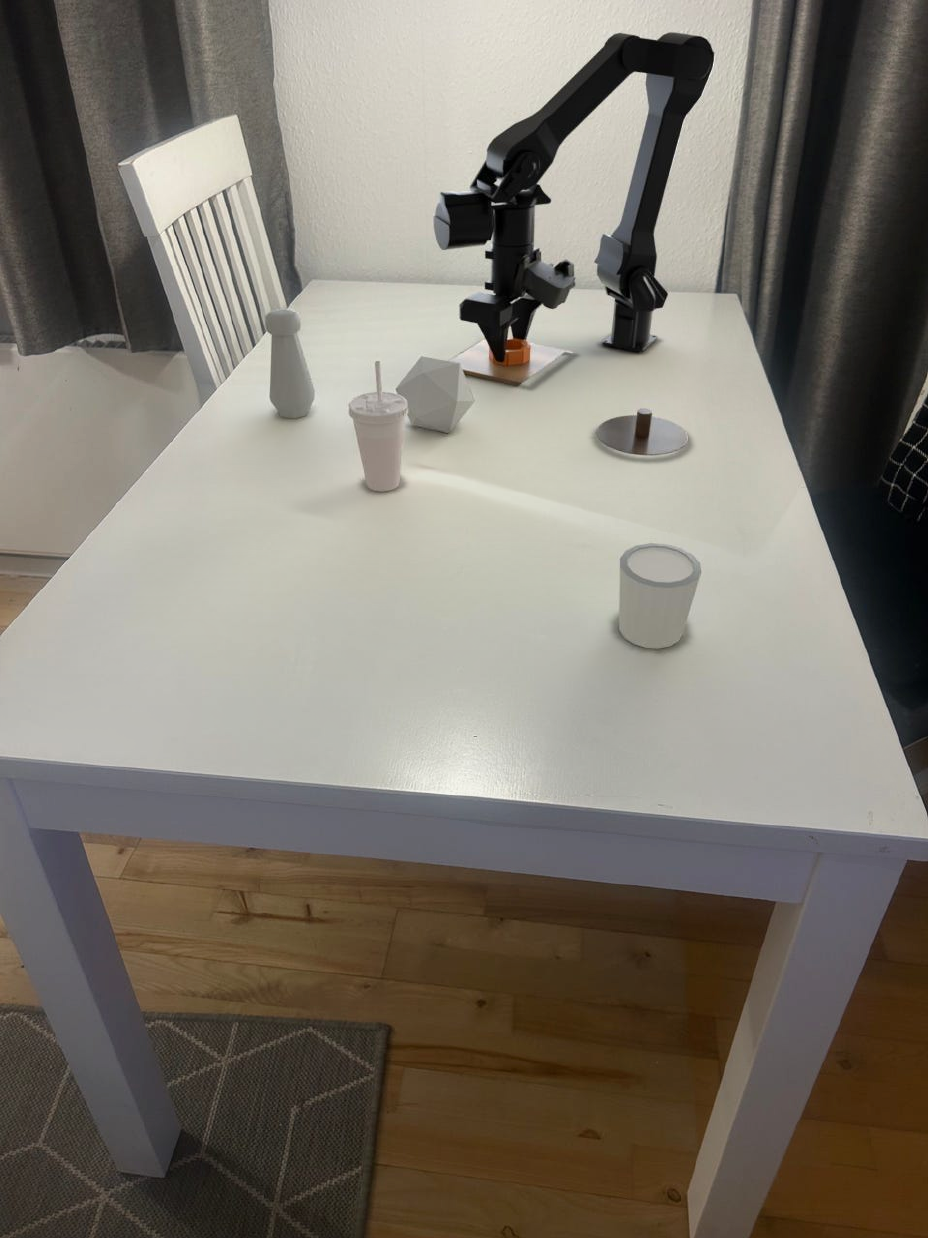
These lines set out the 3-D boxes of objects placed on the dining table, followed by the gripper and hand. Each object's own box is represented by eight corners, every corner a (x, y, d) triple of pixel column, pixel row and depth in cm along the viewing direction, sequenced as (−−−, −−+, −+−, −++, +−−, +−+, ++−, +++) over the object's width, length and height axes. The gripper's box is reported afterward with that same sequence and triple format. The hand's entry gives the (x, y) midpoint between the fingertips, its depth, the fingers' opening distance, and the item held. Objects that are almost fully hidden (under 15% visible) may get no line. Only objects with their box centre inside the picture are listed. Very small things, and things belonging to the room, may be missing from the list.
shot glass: (604, 608, 84) (611, 543, 80) (677, 604, 84) (688, 540, 80) (621, 655, 78) (629, 589, 74) (699, 651, 79) (712, 584, 75)
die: (485, 424, 117) (458, 349, 116) (476, 417, 108) (448, 336, 107) (423, 447, 118) (397, 373, 118) (410, 443, 110) (381, 363, 109)
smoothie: (419, 475, 105) (415, 356, 96) (398, 501, 100) (392, 379, 91) (368, 466, 106) (359, 349, 98) (345, 492, 101) (333, 371, 93)
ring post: (617, 414, 118) (620, 385, 115) (699, 432, 113) (704, 404, 111) (581, 447, 110) (583, 418, 108) (668, 469, 106) (672, 438, 103)
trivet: (490, 338, 139) (490, 334, 139) (574, 355, 134) (574, 351, 133) (442, 369, 130) (442, 364, 130) (529, 388, 124) (530, 384, 124)
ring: (501, 348, 135) (502, 335, 133) (535, 355, 132) (536, 341, 131) (482, 360, 131) (483, 347, 130) (517, 368, 128) (517, 354, 127)
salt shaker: (321, 403, 121) (311, 304, 113) (311, 422, 116) (299, 320, 108) (278, 401, 121) (264, 303, 113) (266, 420, 116) (251, 319, 109)
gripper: (534, 267, 112) (529, 388, 121) (597, 232, 125) (588, 344, 134) (456, 255, 117) (457, 372, 126) (524, 222, 129) (521, 331, 139)
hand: (509, 354), depth 131 cm, fingers closed on ring, 5 cm apart
